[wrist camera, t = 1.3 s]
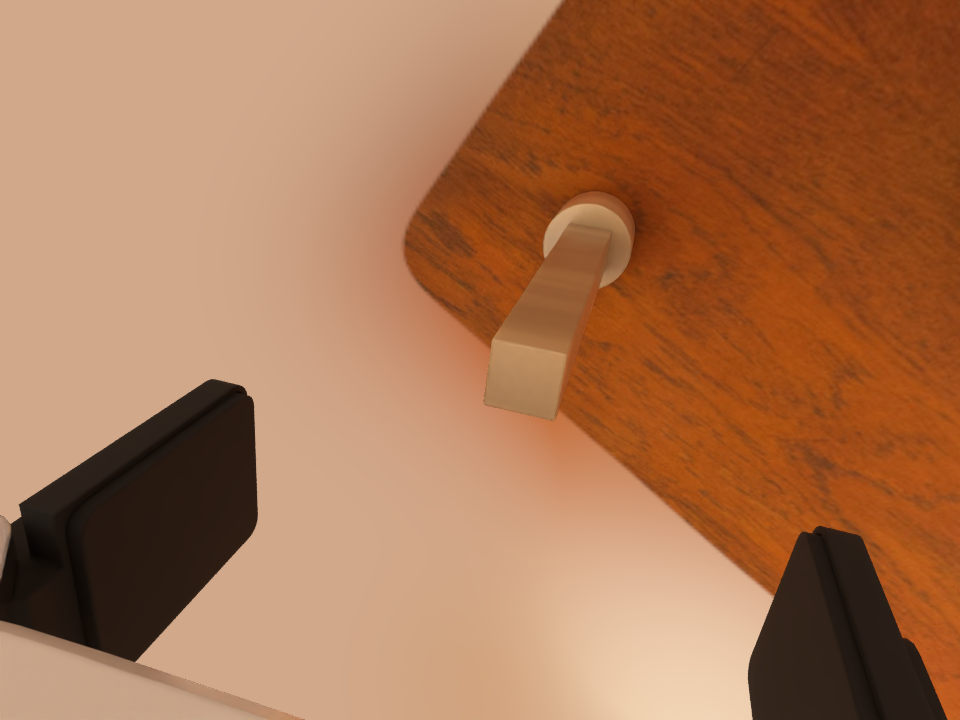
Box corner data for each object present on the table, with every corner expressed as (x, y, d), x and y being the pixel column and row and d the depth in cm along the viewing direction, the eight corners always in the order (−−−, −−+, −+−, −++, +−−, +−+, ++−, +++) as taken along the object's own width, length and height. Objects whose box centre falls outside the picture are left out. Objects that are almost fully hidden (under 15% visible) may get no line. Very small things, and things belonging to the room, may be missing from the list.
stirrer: (561, 184, 29) (458, 294, 15) (643, 198, 29) (615, 326, 15) (548, 263, 31) (443, 428, 17) (625, 277, 30) (585, 463, 16)
